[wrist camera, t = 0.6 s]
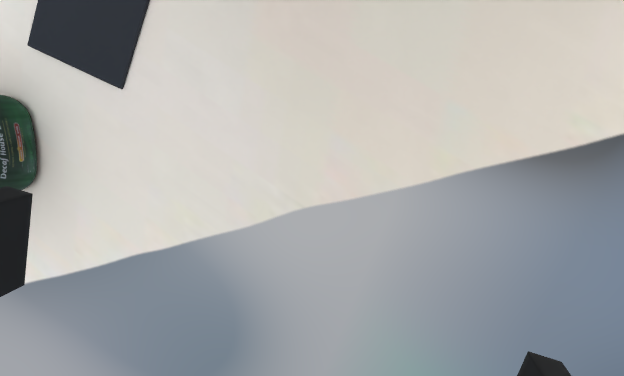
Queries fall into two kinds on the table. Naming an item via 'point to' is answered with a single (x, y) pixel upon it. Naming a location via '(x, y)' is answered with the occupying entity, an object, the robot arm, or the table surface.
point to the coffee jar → (16, 145)
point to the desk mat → (90, 34)
